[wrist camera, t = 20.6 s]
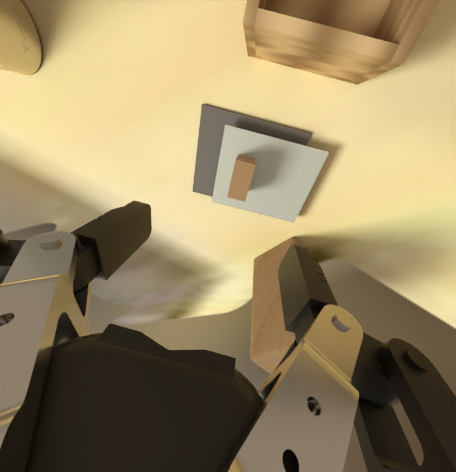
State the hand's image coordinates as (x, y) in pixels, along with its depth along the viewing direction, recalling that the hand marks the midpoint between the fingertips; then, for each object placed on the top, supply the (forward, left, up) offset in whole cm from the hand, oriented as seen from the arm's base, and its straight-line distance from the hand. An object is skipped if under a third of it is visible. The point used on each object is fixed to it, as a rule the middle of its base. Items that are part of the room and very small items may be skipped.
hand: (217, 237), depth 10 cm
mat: (0, 0, -22) cm, 22 cm away
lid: (+3, -1, -22) cm, 22 cm away
